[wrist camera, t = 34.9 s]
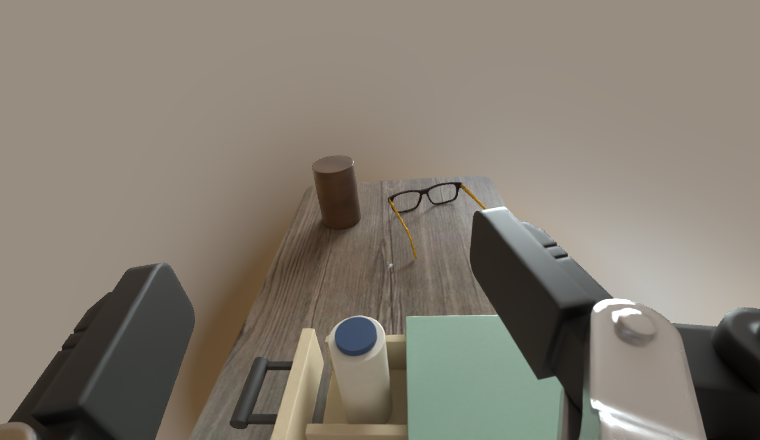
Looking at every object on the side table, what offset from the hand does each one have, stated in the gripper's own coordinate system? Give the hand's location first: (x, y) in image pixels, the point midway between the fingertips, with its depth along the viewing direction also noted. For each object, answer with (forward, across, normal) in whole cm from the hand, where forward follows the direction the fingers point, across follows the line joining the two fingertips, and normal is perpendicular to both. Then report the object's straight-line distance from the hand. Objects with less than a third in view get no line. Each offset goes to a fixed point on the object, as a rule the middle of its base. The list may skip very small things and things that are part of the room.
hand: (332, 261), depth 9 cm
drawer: (+11, +3, +27) cm, 29 cm away
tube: (+10, 0, +26) cm, 28 cm away
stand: (+46, 0, +28) cm, 54 cm away
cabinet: (+8, -10, +28) cm, 31 cm away
